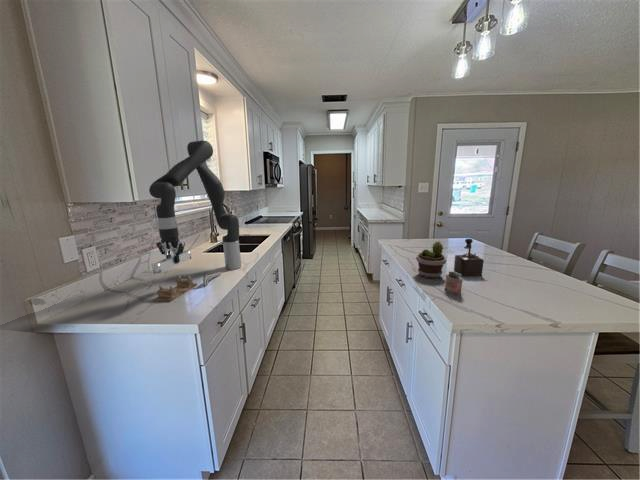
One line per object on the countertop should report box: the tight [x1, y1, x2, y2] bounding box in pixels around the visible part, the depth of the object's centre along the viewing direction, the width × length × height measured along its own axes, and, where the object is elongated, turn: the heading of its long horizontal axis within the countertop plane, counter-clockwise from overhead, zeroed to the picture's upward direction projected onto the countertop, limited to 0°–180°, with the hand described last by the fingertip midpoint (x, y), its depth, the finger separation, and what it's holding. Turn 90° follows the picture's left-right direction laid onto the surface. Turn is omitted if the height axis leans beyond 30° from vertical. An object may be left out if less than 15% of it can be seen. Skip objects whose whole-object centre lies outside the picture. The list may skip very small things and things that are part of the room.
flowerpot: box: [415, 239, 447, 280], centre depth 136 cm, size 14×15×20 cm
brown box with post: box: [453, 238, 485, 278], centre depth 141 cm, size 16×11×18 cm
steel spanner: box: [151, 250, 192, 275], centre depth 119 cm, size 23×3×4 cm, turn 171°
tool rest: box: [153, 275, 198, 303], centre depth 122 cm, size 19×8×6 cm, turn 170°
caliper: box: [202, 271, 223, 287], centre depth 138 cm, size 20×1×6 cm, turn 178°
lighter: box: [443, 270, 464, 297], centre depth 115 cm, size 8×3×10 cm, turn 23°
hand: (173, 262), depth 119 cm, fingers closed on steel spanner, 3 cm apart
